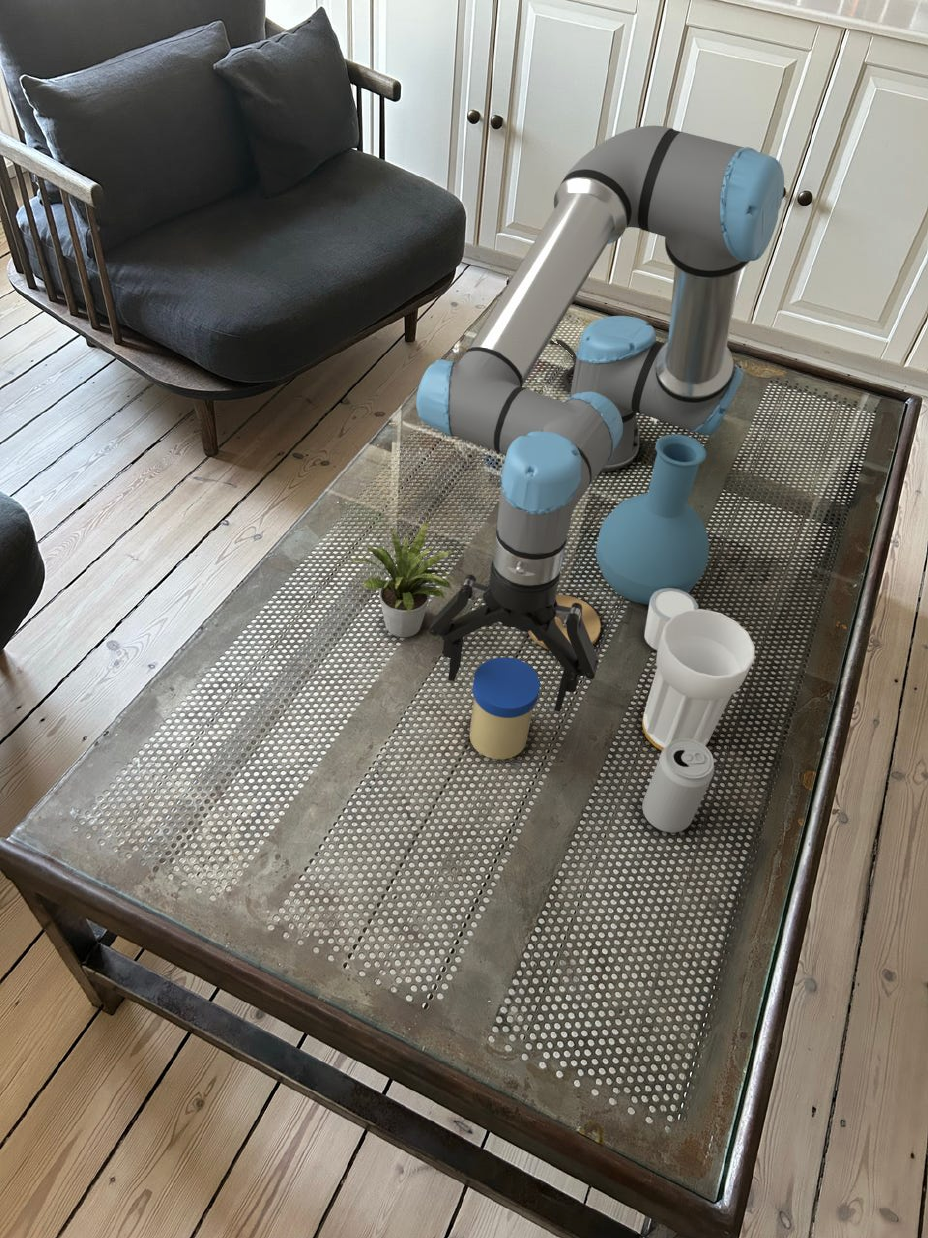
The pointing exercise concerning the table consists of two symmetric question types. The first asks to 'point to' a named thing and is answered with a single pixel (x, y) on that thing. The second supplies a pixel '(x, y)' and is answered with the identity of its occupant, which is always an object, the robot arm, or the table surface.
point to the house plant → (406, 584)
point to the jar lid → (506, 687)
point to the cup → (695, 676)
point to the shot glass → (665, 611)
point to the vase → (657, 528)
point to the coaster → (588, 619)
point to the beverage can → (678, 785)
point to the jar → (498, 733)
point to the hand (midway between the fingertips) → (506, 688)
